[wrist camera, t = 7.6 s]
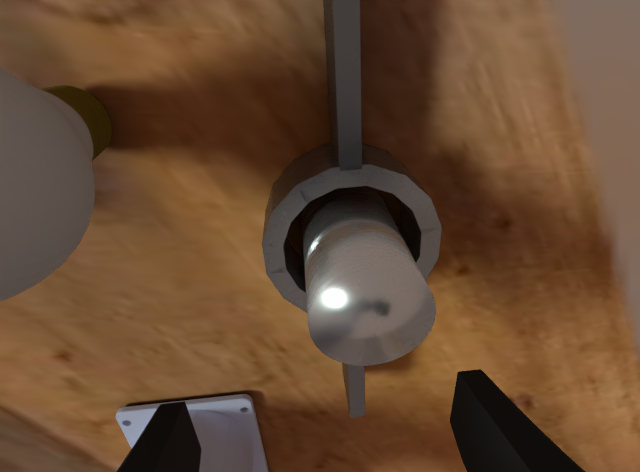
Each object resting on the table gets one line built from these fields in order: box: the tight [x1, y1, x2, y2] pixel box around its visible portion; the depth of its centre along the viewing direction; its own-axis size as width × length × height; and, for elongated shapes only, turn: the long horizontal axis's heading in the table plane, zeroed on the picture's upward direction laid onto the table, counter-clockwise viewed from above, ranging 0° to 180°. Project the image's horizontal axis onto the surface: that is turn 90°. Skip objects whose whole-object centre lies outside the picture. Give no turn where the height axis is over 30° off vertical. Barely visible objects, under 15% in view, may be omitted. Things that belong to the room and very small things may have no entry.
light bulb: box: [0, 68, 112, 301], centre depth 11 cm, size 6×6×10 cm
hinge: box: [262, 0, 442, 418], centre depth 17 cm, size 21×7×3 cm, turn 4°
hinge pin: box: [301, 186, 436, 366], centre depth 15 cm, size 4×4×7 cm
